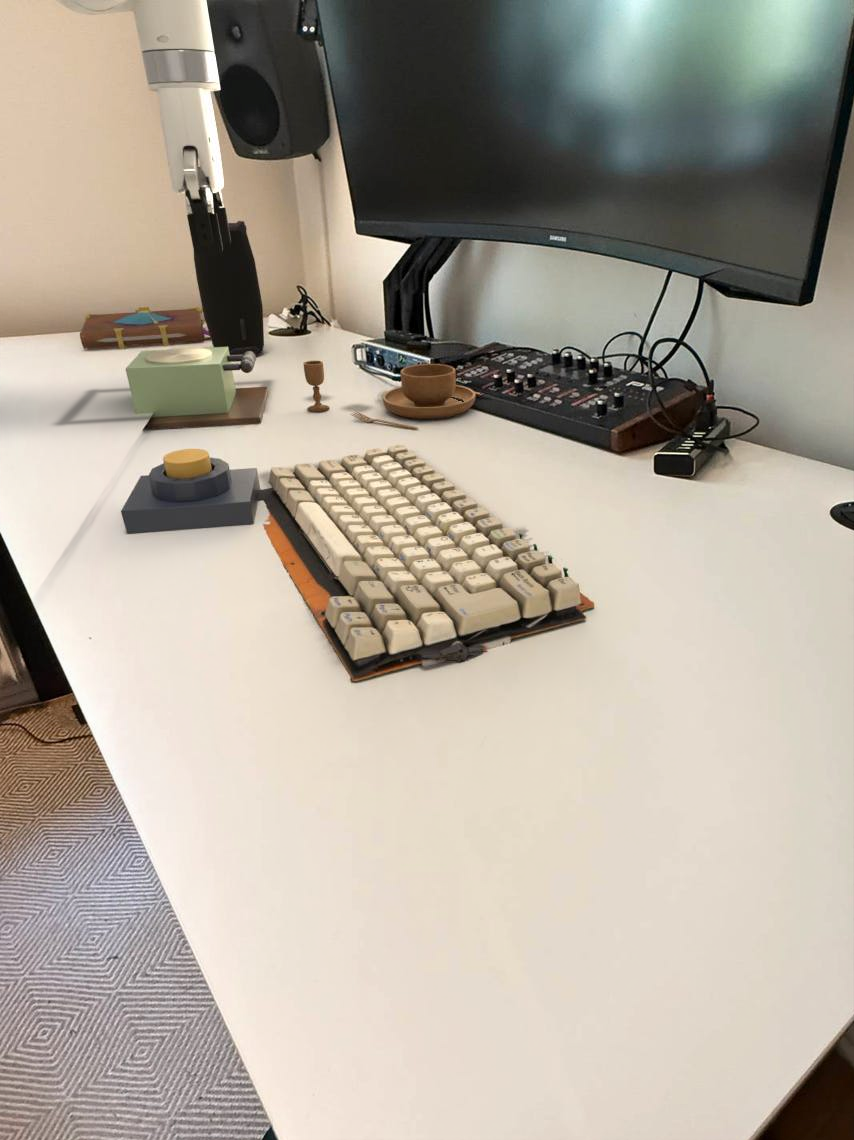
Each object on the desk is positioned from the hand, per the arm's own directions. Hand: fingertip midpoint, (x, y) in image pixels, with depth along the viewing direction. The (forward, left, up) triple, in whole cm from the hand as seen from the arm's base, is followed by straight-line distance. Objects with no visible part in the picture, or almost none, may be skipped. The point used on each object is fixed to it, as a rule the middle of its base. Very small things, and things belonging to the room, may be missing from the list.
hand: (213, 248), depth 96 cm
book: (-19, +50, -19) cm, 57 cm away
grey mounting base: (-1, -36, -19) cm, 41 cm away
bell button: (-1, -36, -15) cm, 39 cm away
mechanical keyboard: (+17, -48, -20) cm, 54 cm away
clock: (-12, -1, -15) cm, 19 cm away
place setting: (+21, -4, -19) cm, 29 cm away
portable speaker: (-3, +32, -19) cm, 37 cm away
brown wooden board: (-8, -1, -19) cm, 21 cm away
